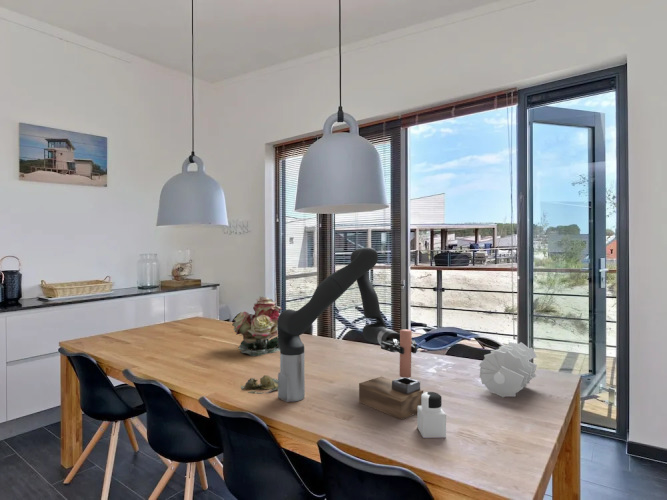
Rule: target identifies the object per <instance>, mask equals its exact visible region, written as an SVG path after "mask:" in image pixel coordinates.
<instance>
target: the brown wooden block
mask: <svg viewBox="0 0 667 500" xmlns="http://www.w3.org/2000/svg"><path fill="white" fill-rule="evenodd" d="M423 393H424V389H421V381H420V380H416V379H414V378H411V377H409V378H404V377H399V378H396V379H390V378H387V377H384V376H378V377H375V378H372V379H369V380H365V381H361V382H360V383H358V395H359V396H358V401H359V402H358V403H361V404H363V405H365V406H367V407H369V408H372V409H375V410H377V411H378V412H379V411H380V412H381V413H384V414H386V415H388V416H391V417H393V418H395V419H398V420H400V421H402V420H404V419H406V418H409V417H411V416H414V415H416V414H417V406H421V395H422V394H423ZM413 414H414V415H413Z"/></svg>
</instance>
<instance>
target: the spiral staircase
mask: <svg viewBox="0 0 667 500" xmlns="http://www.w3.org/2000/svg"><path fill="white" fill-rule="evenodd" d="M534 358H538V356H537V355H536V352H535V351H534V348H533V347H528V346H527V344H524V343H523V342H522V341H520V342H519V343H517V342H511V341H508V343H507V344H505V345H502V346H498V349H494V350H490V353H487V354H484V355H483V360H481V362H480V363H479V365H478V366H479V367H480V370H479V378H480V381H481V384H482V385H484V386H485V387H486V389H487V390H488V391H489V392H490V394H495V395H497V396H499V397H501V398H503V399H505V397H516V394H517V393H520V391H522V390H523V389H524V388H527V387H528V384H530V383H531V381H532V380H533V379H534V378H536V377H537V374H536V373H535V372H536V368H537V366H538V364H536V363H533V362H531V361H530V360H533V359H534Z"/></svg>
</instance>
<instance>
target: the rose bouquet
mask: <svg viewBox="0 0 667 500" xmlns="http://www.w3.org/2000/svg"><path fill="white" fill-rule="evenodd" d="M255 300H256V302H255V303H253V307H252V308H253V311H254V314H252V313H249V312H248V311H247V310H244V311H241V312H239V313H238V314H237V315H236V317H235V318H234V319H233V320H234V322H232V327H234V328H233V331H234V333H235V335H239V337H241V336H242V338H243V339H242V341H241V342H240V344H239V346H238V350H241V351H240V353H241V354H247V355H249V356H250V357H257V356H259V357H260V356H263V355H267V354H276V353H277V352H280V347H279V344H278V327H277V326H278V318H279V316H280V314H281V312H280V311H281V310H282V307H281V306H280V305H279V306H278V305H276V303H277V302H278V300H276V299H275V301H274V300H273V299H272V298H270V297H267V296H259V297H257V298H256V299H255ZM251 349H252V350H251Z"/></svg>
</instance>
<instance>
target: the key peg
mask: <svg viewBox="0 0 667 500" xmlns="http://www.w3.org/2000/svg"><path fill="white" fill-rule="evenodd" d="M412 331H413V330H411V329H406V328H405V329H400V330H399V334H400V346H401V347H403V348H404V354H401V353H399V378H402V377H404V378H411V377H412V352H411V343H412V340H413V339H412V338H413V337H412V335H413V332H412Z"/></svg>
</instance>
